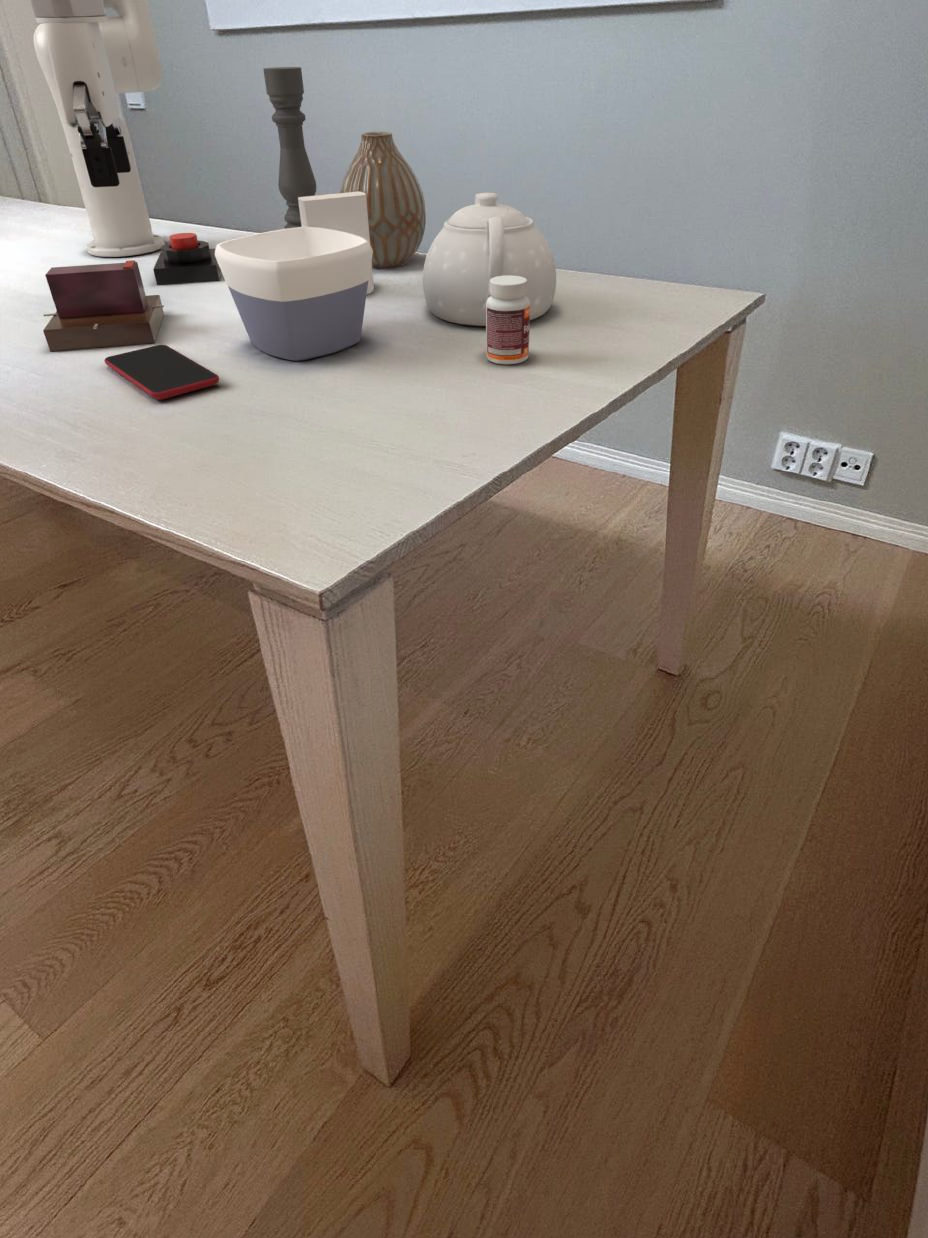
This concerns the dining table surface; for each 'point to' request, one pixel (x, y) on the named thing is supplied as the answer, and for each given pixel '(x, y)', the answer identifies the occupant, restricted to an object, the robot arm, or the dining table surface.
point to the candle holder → (290, 138)
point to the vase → (388, 199)
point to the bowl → (298, 289)
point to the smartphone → (162, 371)
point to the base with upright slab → (338, 216)
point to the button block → (186, 265)
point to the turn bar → (97, 289)
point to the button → (183, 240)
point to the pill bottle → (507, 320)
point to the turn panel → (105, 328)
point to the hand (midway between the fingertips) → (112, 178)
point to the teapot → (486, 261)
